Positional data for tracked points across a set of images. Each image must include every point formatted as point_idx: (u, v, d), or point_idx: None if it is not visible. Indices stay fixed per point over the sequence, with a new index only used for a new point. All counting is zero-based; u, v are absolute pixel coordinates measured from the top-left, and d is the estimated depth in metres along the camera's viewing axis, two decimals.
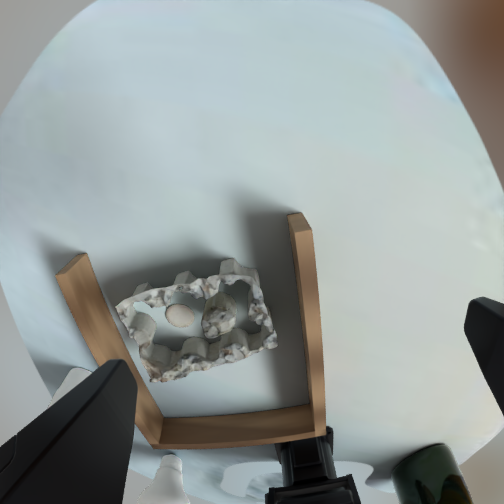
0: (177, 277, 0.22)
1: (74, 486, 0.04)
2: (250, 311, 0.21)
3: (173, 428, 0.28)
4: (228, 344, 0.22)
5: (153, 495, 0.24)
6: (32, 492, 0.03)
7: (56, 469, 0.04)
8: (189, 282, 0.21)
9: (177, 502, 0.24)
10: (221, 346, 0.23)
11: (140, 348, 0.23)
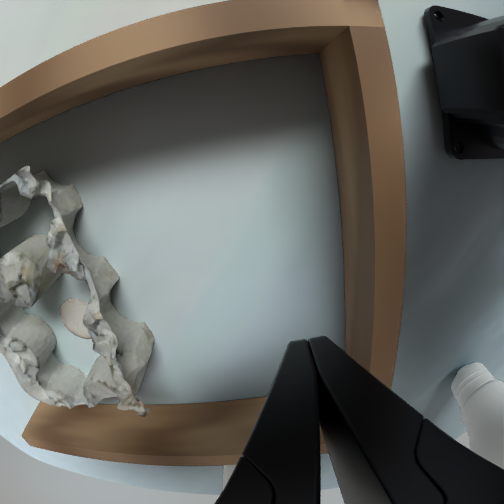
0: (19, 317, 0.13)
1: None
2: None
3: None
4: None
5: None
6: None
7: None
8: (7, 307, 0.12)
9: None
10: (68, 272, 0.10)
11: None
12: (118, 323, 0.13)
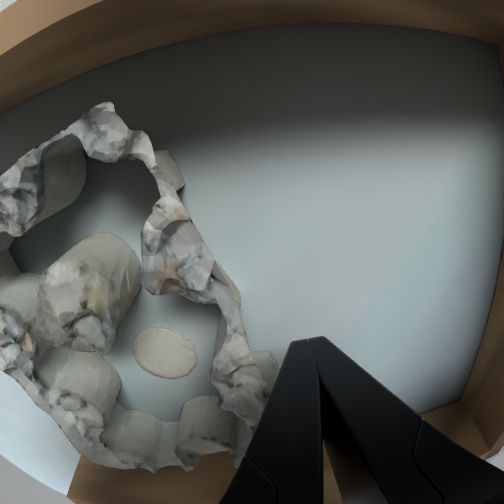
0: (65, 356, 0.09)
1: None
2: (10, 230, 0.06)
3: (481, 403, 0.10)
4: None
5: None
6: None
7: None
8: (48, 345, 0.08)
9: None
10: None
11: (231, 452, 0.09)
12: None
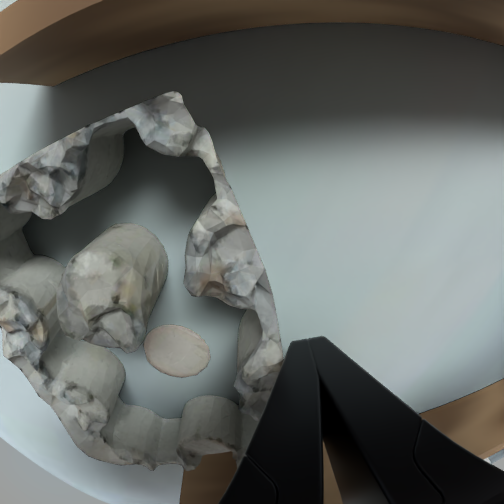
0: (70, 346, 0.09)
1: None
2: (39, 212, 0.05)
3: None
4: None
5: None
6: None
7: None
8: None
9: None
10: None
11: (234, 454, 0.09)
12: None
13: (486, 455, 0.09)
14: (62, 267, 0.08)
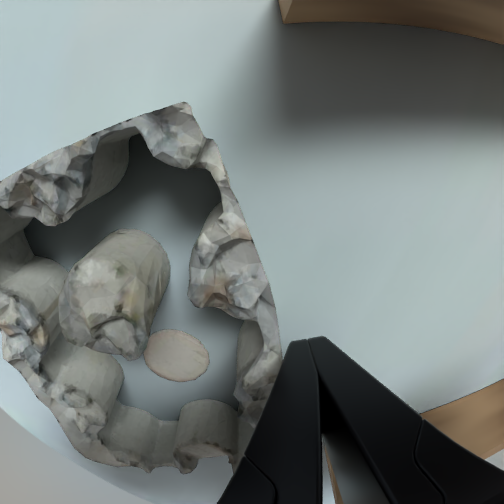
0: (69, 348, 0.09)
1: None
2: (42, 218, 0.05)
3: None
4: None
5: None
6: None
7: None
8: None
9: None
10: (214, 304, 0.07)
11: (230, 458, 0.09)
12: None
13: None
14: (62, 271, 0.08)
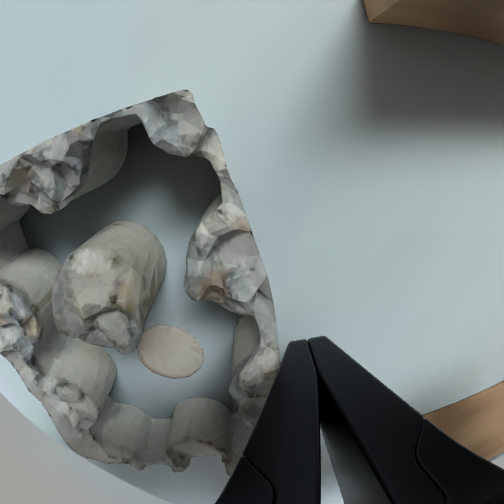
0: (62, 342, 0.09)
1: None
2: (39, 205, 0.05)
3: None
4: None
5: None
6: None
7: None
8: (49, 329, 0.08)
9: None
10: None
11: (224, 457, 0.09)
12: None
13: None
14: (58, 262, 0.08)
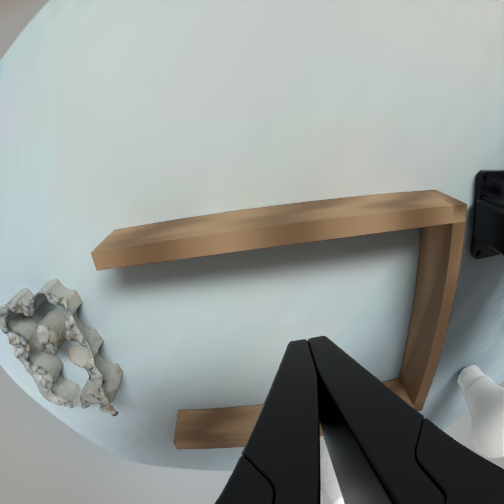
0: (40, 352, 0.21)
1: None
2: (24, 314, 0.17)
3: (407, 378, 0.22)
4: None
5: (474, 434, 0.17)
6: None
7: None
8: None
9: (495, 415, 0.16)
10: (76, 340, 0.19)
11: None
12: (102, 363, 0.21)
13: None
14: (35, 322, 0.20)
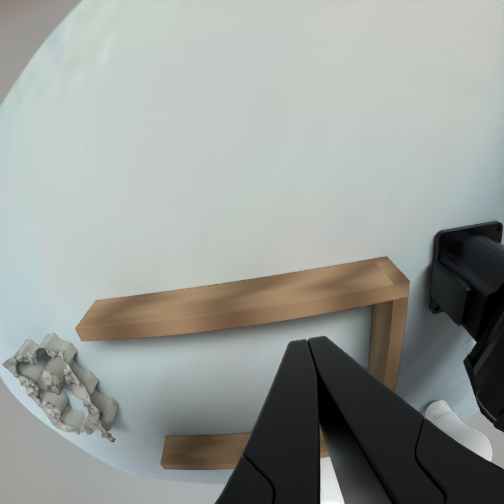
0: None
1: None
2: (30, 363, 0.20)
3: None
4: None
5: None
6: None
7: None
8: None
9: None
10: None
11: (102, 430, 0.24)
12: (100, 398, 0.24)
13: None
14: (41, 365, 0.23)
